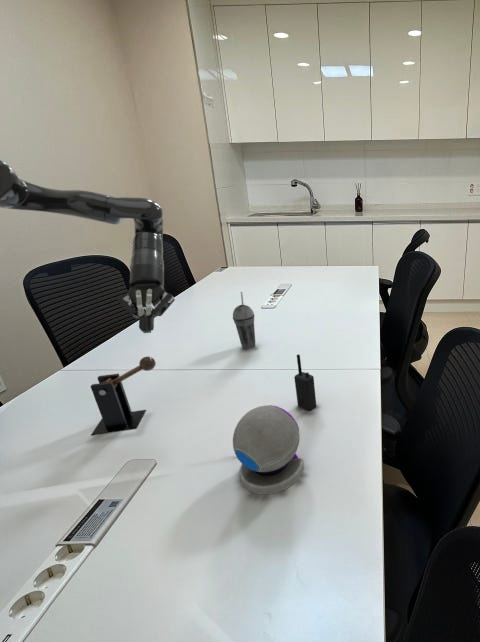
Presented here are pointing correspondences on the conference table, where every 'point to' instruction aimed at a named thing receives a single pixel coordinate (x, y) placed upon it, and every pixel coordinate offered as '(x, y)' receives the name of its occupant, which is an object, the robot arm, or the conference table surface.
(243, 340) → the beverage cup
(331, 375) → the conference table surface
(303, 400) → the walkie-talkie
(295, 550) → the conference table surface
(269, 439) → the webcam
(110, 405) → the bracket
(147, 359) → the lever
